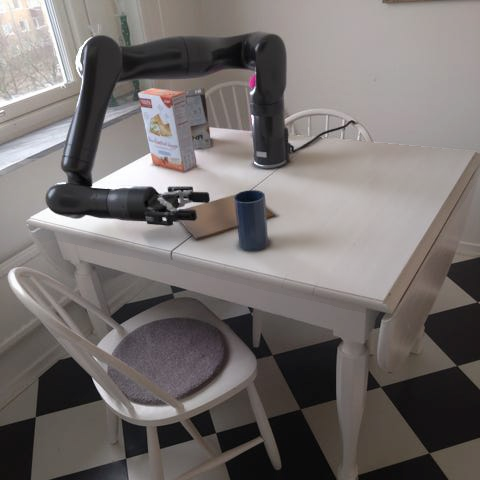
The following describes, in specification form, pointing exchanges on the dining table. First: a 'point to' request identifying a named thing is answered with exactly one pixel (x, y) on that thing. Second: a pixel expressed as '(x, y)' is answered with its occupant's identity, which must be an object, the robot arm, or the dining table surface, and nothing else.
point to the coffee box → (198, 117)
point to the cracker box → (168, 128)
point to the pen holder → (251, 220)
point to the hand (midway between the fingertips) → (202, 206)
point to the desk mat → (214, 218)
